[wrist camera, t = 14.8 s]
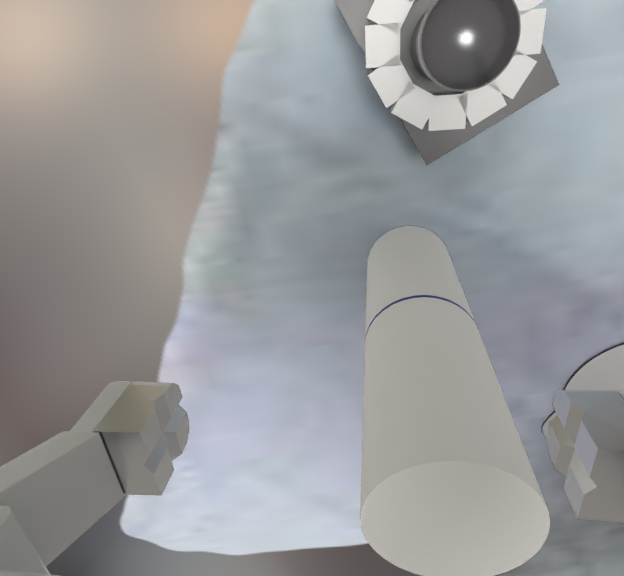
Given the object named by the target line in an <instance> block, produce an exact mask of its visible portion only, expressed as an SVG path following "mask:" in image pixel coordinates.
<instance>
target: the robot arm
mask: <svg viewBox="0 0 624 576" xmlns="http://www.w3.org/2000/svg"><path fill="white" fill-rule="evenodd" d="M181 399H182V394H181V391H180V388H179V385H177V384H175V383H161V382H125V381H114V382H112V383H109V384H108V385H107V387H106V388H105V389H104V390H103V391H102V393H101V394H100V395H99V396H98V398H97V399H96V400H95V401H94V402H93V404H92V405H91V406H90V407H89V409H88V410H87V411H86V412H85V414H84V415H83V416H82V417H81V418H80V420H79V421H78V422H77V423H76V424H75V426H74V427H73V428H72V429H71V430H70V431H67V432H66V431H63V432H61V433H59V434H58V435H56V436H54V437H52V438H51V439H49V440H47V441H45V442H44V443H42V444H40V445H38V446H36V447H35V448H33V449H31V450H29V451H27V452H26V453H24V454H22V455H20V456H19V457H17V458H15V459H14V460H12V461H10V462H8V463H6V464H5V465H3V466H1V467H0V576H58V575H50V573H49V571H48V570H47V568H46V566H47V565H48V564H49V563H50V562H51V561H53V560H54V559H55V558H56V557H57V556H58V555H59V554H60V553H62V552H63V551H64V550H65V549H66V548H67V547H68V546H69V545H71V544H72V543H73V542H74V541H75V540H76V539H77V538H78V537H79V536H81V535H82V534H83V533H84V532H85V531H86V530H87V529H89V528H90V527H91V526H92V525H93V524H94V523H95V522H96V521H97V520H99V519H100V518H101V517H102V516H103V515H104V514H105V513H106V512H108V511H109V510H110V509H111V508H112V507H113V506H114V505H116V504H117V503H118V502H119V501H120V500H121V499H122V498H123V497H124V494H130V495H162V493H163V491H164V489H165V487H166V485H167V483H168V481H169V479H170V477H171V475H172V473H173V471H174V468H173V465H172V460H174V459H175V458H176V457H178V456H179V455H180V454H182V452H183V450H184V448H185V446H186V443H187V439H188V434H189V419H188V415H187V412H186V411H185V410H184V409H183V408H182V407H181V406H180V405H179V402H180V400H181ZM553 407H554V409H555V411H556V412H555V413H554V414H553V415H552V416H551V417H550V418H549V419H548V420H547V421H546V422H545V424H544V425H543V428H542V431H543V433H544V435H545V437H546V438H547V447H548V451H549V455H550V459H551V461H552V463H553V466H554V468H555V469H556V470H557V471H558V472H559V473H561V474H562V475H563V476H565V477H566V480H565V484H564V491H565V493H566V495H567V497H568V499H569V502H570V504H571V506H572V508H573V511H574V513H575V515H576V517H577V519H584V520H596V521H608V522H620V523H624V345H621V346H618V347H615V348H613V349H610V350H608V351H606V352H604V353H602V354H601V355H599V356H597V357H596V358H594V359H592V360H591V361H590V362H588V363H587V364H586V365H584V366H583V367H582V368H581V369H580V370H579V371H578V372H577V373H576V374H575V375H574V376H573V378H572V379H571V380H570V382H569V383H568V385H567V387H566V389H565V390H558V391H557V393H556V394H555V397H554V401H553Z"/></svg>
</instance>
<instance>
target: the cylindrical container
mask: <svg viewBox="0 0 624 576" xmlns="http://www.w3.org/2000/svg"><path fill="white" fill-rule="evenodd" d="M360 521H361V528H362V531H363V533H364V536H365V538H366V540H367V541H368V543H369V544H370V545H371V546H372V548H373V549H374V550H375V551H376V552H377V553H378V554H379V555H381V556H382V557H383V558H384V559H386V560H387V561H389V562H391V563H393V564H394V565H395V566H397V567H400V568H402V569H404V570H407V571H409V572H412V573H415V574H419V575H423V576H494V575H497V574H501V573H504V572H507V571H509V570H511V569H513V568H515V567H518V566H520V565H522V564H523V563H525V562H526V561H527V560H529V559H530V558H531V557H533V556H534V555H535V554H536V553H537V552H538V550H539V549H540V548H541V547H542V546H543V545H544V542H545V540H546V538H547V536H548V534H549V528H550V517H549V511H548V508H547V506H546V503H545V501H544V498H543V496H542V493H541V490H540V488H539V485H538V483H537V480H536V478H535V475H534V472H533V470H532V467H531V465H530V462H529V460H528V457H527V454H526V452H525V449H524V447H523V444H522V442H521V439H520V436H519V434H518V431H517V429H516V426H515V424H514V421H513V418H512V416H511V413H510V411H509V408H508V406H507V403H506V400H505V398H504V395H503V393H502V390H501V388H500V385H499V382H498V380H497V377H496V375H495V372H494V369H493V367H492V364H491V362H490V359H489V356H488V354H487V351H486V349H485V346H484V343H483V341H482V338H481V336H480V333H479V331H478V328H477V325H476V323H475V320H474V318H473V315H472V313H471V310H470V307H469V305H468V302H467V300H466V297H465V295H464V292H463V289H462V287H461V284H460V282H459V279H458V277H457V274H456V271H455V269H454V266H453V264H452V261H451V258H450V256H449V253H448V251H447V248H446V246H445V244H444V243H443V241H442V240H441V239H440V238H439V237H438V236H437V235H436V234H435V233H433V232H431V231H429V230H427V229H425V228H422V227H418V226H402V227H398V228H394V229H392V230H390V231H388V232H386V233H385V234H383V235H382V236H381V237H380V238H379V239H378V240H377V241H376V242H375V243H374V245H373V246H372V248H371V250H370V253H369V256H368V262H367V293H366V329H365V364H364V399H363V435H362V471H361V507H360Z"/></svg>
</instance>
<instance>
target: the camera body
mask: <svg viewBox="0 0 624 576" xmlns="http://www.w3.org/2000/svg"><path fill="white" fill-rule="evenodd" d="M334 1H335V3H336V5H337V7H338V8H339V10H340V12H341V14H342V15H343V17H344V19H345V21H346V23H347V24H348V26H349V28H350V30H351V31H352V33H353V35H354V37H355V39H356V40H357V42H358V44H359V46H360V47H361V49H362V51H363V53H364V55H365V56H366V68H372V69H373V71H372V72H371V73H370V74H368V77H369V79H370V80H371V82H372V84H373V86H374V87H375V89H376V91H377V93H378V94H379V96H380V98H381V100H382V101H383V103H384V105H385V107H386V108H388V107H389V106H391V105H392V104H393V105H392V107H391V109H390V111H391V113H392V114H394V115H396V116H398V117H400V119H401V120H402V122H403V124H404V126H405V127H406V129H407V131H408V133H409V135H410V136H411V138H412V140H413V142H414V143H415V145H416V147H417V149H418V151H419V152H420V154H421V156H422V158H423V159H424V161H425V163H426V165H428V164H430V163H432V162H433V161H435V160H437V159H438V158H440V157H441V156H443V155H445V154H446V153H448V152H450V151H451V150H453V149H455V148H456V147H458V146H460V145H461V144H463V143H464V142H466V141H468V140H469V139H471V138H473V137H474V136H476V135H478V134H479V133H481V132H482V131H484V130H486V129H487V128H489V127H491V126H492V125H494V124H496V123H497V122H499V121H501V120H502V119H504V118H505V117H507V116H509V115H510V114H512V113H514V112H515V111H517V110H519V109H520V108H522V107H524V106H525V105H527V104H528V103H530V102H532V101H533V100H535V99H537V98H538V97H540V96H542V95H543V94H545V93H547V92H548V91H550V90H551V89H553V88H555V87H556V86H558V85H559V83H558V80H557V78H556V76H555V73H554V71H553V69H552V66H551V64H550V61H549V59H548V57H547V54H546V52H545V50H544V47H543V45H542V39H543V31H544V24H545V17H546V10H547V8H540V9H532V8H534V7H535V6H537V5H538V4H540V3H541V2H543V1H544V0H514V1H515V3H516V5H517V8H518V11H519V15H520V22H521V31H520V38H519V43H518V46H517V49H516V52H515V54H514V56H513V58H512V60H511V62H510V63H509V65H508V66H507V67H506V69H505V70H504V71H503V72H502V73H501V74H500V75H499V76H498V77H497V78H496V79H494V80H493V81H492V82H490V83H489V84H487V85H485V86H483V87H481V88H478V89H475V90H472V91H463V92H459V91H452V90H449V89H446V88H443V87H441V86H439V85H438V84H436V83H435V82H433V81H431V80H429V79H427V78H425V77H424V76H423V75H422V74H420V72H419V71H418V70H417V68H416V67H415V65H414V63H413V60H412V56H411V38H412V34H413V31H414V29H415V26H416V24H417V23H418V21H419V19H420V18H421V17H422V16H423V14H424V13H425V12H426V11H427V10H429V8H430V7H431V6H432V4H433V3H434V2H435V1H436V0H334Z"/></svg>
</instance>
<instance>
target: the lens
mask: <svg viewBox="0 0 624 576" xmlns="http://www.w3.org/2000/svg"><path fill="white" fill-rule="evenodd" d="M520 31H521V22H520V15H519V11H518V8H517V5H516V3H515V1H514V0H436V1H435V2H434V3H433V4H432V6H431V7H430V8H429V10H427V11H426V12H425V13H424V14H423V16H422V17H421V18H420V19H419V21H418V23H417V24H416V26H415V29H414V31H413V34H412V38H411V56H412V60H413V63H414V65H415V67H416V68H417V70H418V71H419V72H420V74H422V75H423V76H424V77H425V78H427V79H429V80H431V81H433V82H435V83H436V84H438V85H439V86H441V87H443V88H446V89H449V90H452V91H459V92H463V91H472V90H475V89H478V88H481V87H483V86H485V85H487V84H489V83H490V82H492V81H493V80H494V79H496V78H497V77H498V76H499V75H500V74H501V73H502V72H503V71H504V70H505V69H506V67H507V66H508V65H509V63H510V62H511V60H512V58H513V56H514V54H515V52H516V49H517V46H518V43H519V38H520Z"/></svg>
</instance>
